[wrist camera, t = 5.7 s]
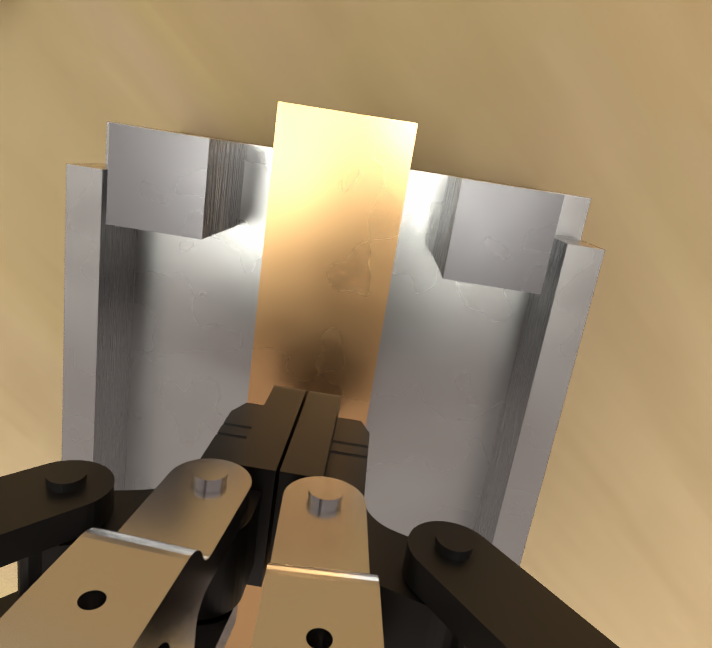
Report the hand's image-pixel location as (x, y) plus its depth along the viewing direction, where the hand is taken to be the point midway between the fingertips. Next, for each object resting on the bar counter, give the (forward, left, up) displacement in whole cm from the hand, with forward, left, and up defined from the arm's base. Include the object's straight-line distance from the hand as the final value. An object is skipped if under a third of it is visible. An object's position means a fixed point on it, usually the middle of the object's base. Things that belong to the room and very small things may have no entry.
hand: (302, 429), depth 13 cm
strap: (+2, 0, -3) cm, 3 cm away
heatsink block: (+2, 0, -8) cm, 8 cm away
